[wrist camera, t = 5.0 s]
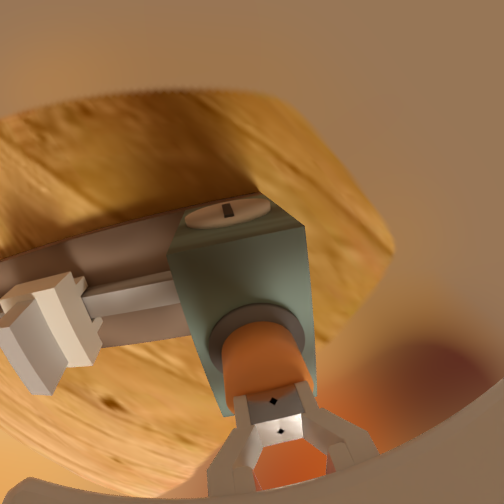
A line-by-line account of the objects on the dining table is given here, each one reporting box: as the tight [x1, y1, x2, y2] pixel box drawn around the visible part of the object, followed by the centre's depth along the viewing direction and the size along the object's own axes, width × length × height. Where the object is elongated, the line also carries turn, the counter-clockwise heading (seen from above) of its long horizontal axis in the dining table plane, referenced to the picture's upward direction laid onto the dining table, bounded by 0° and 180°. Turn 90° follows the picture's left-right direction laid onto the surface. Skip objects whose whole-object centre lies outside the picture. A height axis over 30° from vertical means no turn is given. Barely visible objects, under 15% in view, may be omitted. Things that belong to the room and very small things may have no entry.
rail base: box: [0, 192, 317, 417], centre depth 18 cm, size 12×30×12 cm, turn 100°
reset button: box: [221, 321, 314, 415], centre depth 12 cm, size 4×4×3 cm
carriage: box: [0, 271, 103, 396], centre depth 17 cm, size 7×7×9 cm
